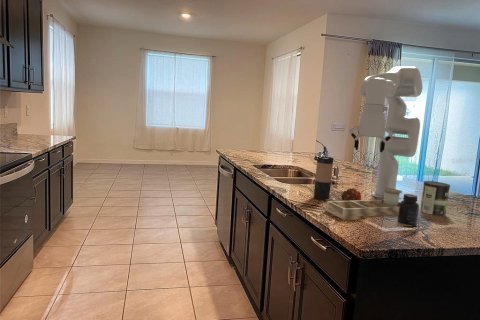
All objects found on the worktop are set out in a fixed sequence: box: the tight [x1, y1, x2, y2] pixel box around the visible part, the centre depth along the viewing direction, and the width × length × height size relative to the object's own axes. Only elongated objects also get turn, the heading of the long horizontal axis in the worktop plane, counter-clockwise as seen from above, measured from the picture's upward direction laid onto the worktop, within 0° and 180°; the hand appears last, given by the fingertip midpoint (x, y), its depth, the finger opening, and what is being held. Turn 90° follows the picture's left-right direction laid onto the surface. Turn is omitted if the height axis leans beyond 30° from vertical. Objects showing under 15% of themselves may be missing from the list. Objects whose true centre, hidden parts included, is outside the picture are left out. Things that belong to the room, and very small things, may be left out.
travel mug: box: [313, 156, 334, 201], centre depth 174 cm, size 8×8×20 cm
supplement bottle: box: [397, 193, 420, 229], centre depth 140 cm, size 7×7×12 cm
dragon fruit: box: [340, 187, 362, 201], centre depth 167 cm, size 8×8×12 cm
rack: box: [325, 199, 401, 221], centre depth 154 cm, size 34×13×4 cm, turn 110°
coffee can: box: [419, 180, 451, 216], centre depth 159 cm, size 10×10×14 cm
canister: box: [383, 188, 401, 207], centre depth 157 cm, size 6×6×9 cm
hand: (368, 150), depth 150 cm, fingers open, 9 cm apart
